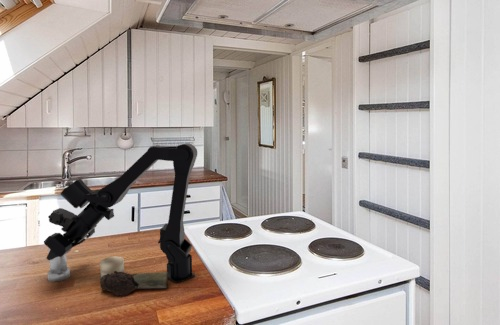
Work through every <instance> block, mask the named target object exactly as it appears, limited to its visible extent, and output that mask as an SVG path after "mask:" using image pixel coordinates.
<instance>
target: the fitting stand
mask: <svg viewBox="0 0 500 325" xmlns="http://www.w3.org/2000/svg"><path fill="white" fill-rule="evenodd" d="M124 259H125V258H123V256H122V257H121V256H109V257H106V258H104V259H101V260H100V265H99V267H100V268H99V269H100V276H99V277H100V278H99V279H100V281H101V277H102V276H103V275H107V274H108V273H109V274H112V273H114V271H117V272H124V273H126V271H125V264H124V263H125V262H124V261H125V260H124Z"/></svg>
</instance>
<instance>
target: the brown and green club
mask: <svg viewBox="0 0 500 325" xmlns="http://www.w3.org/2000/svg"><path fill="white" fill-rule="evenodd" d="M124 272H125V271H124ZM124 272H117V271H114V273H112V274H109V273H108V274H107V275H103V276H102V277H101V280H100V282H99V283H100V289H101V290H104V291H108V292H111V293H112V294H113V295H114V296H117V297H118V296H121V297H122V296H127V295H129V294H131V293H132V292H134V291H135V289H168V286H169V278H168V272H167V271H166V272H164V271H163V272H162V271H161V272H143V273H142V272H140V273H127V272H125V273H124Z"/></svg>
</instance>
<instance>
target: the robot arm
mask: <svg viewBox="0 0 500 325" xmlns="http://www.w3.org/2000/svg"><path fill="white" fill-rule="evenodd" d="M197 157H198V150H197V148H196V146H195V145H193V144H191V143H188V142H187V143H182V144H178V145H176V146H174V145H173V146H172V145H171V146H170V145H169V146H168V145H160V144H156V145H152V146H150V147H148V149H147V150H146V152H144V153H143V155H141V156H140V157H139V158H138V159H137V160H136V161H135V162H134V163H133V164H132V165H131V166H129V168H127V170H126V171H124V173H123V174H121V175H120V176H119V177H118V178H116V179H115V180H113V181H112V182H110V183H108V184H107V185H104V186H103V187H101V189H100V188H99V189H96V190H92V189H91V188H90V187H89V186H87V184H86V183H85V182H84V181H83V180H82V179H81V178H78V179H76V180H74V181H73V182H72V183H71V184H69V185H68V186H67V187H65V188H63V190H62V191H61V192H60V196H61V197H62V198H63V199H64V200H66V201H67V203H69V204H70V205H71V206H72V207H73V208H74V209H78V208H80V209H82V211H80V212H79V213H78V214H75V213H73V212H71V211H70V210H67V209H65V208H62V207H61V208H60V207H59V208H56V209H54V210H52V212H51V213H50V215H48V222H49V223H50V224H54V225H56V226H59V227H61V229H60V230H61V231H63V234H62V233H61V232H54V233H52V234H50V235H49V236H48V237H47V238H46V239H44V241H43V244H44V245H45V246H46V247H47V248H48V249H49V248H50V249H51V250H50V252H49V251H48V254H47V256H46V259H47V260H48V261H49V260H52V259H54V258H56V257H62V256H63V255H65V254H66V255H67V254H68V253H69V252H70V251H71V250H72V249H73V248H75V247H76V246H78V245H80V244H82V243H83V242H85V241H86V239H89V238H91V237H92V236H93V235H94V234H95V233H96V231H95V230H96V227H97V226H98V224H99V223H100V222H101V221H102V220H103V219H104V218H105V220H108V221H110V220H111V219H112V218H114V217H115V214H114V213H115V212H114V208H112V207H113V206H115V205H116V204H119V203H120V202H122V201H123V199H124V198H125V197H126V196H127V194H128V192H129V190H130V189H131V187H133V186H132V185H134V184H135V183H136V182H137V181H138V180H139V179H140V178H141V177H142V176H143V175H145V173H146V172H147V171H148V170H149V169H150V168H151V167H153V166H154V165H155V164H156V163H157V161H166V162H172V164H173V171H174V180H173V188H172V193H171V194H172V195H171V201H170V208H169V215H168V222H167V223H165V224H164V225H163V226H162V227H161V228H160V229H159V240H158V241H157V243H158V244H159V248H160V251H162V253H163V254H164V255H165V256H166V258H167V263H166V272H168V280H171V281H172V282H174V283H175V284H178V283H181V282H184V281H187V280H190V279H192V278H195V277H196V274H195V273H193V259H192V258H193V255H192V254H190V252H191V250H192V247H193V244H192V243H191V242H189V241H188V239H186V237H185V225H184V216H185V215H184V214H185V209H186V202H187V196H188V188H189V181H190V176H191V173H192V171H193V168H194V166H195V163H196V160H197Z"/></svg>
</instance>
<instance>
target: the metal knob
mask: <svg viewBox="0 0 500 325" xmlns="http://www.w3.org/2000/svg"><path fill="white" fill-rule="evenodd" d="M50 250H51V249H50V248H48V253H49V252H50ZM48 261H49V262H48V263H49V270H48V271H47V280H48V281H49V282H54V283H55V282H60V281H64V280H66V279H68V278H70V277H71V268H70V267H69V266H68V260H67V253H66V254H65V255H63V256H62V257H56V258H54V259H52V260H48Z"/></svg>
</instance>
